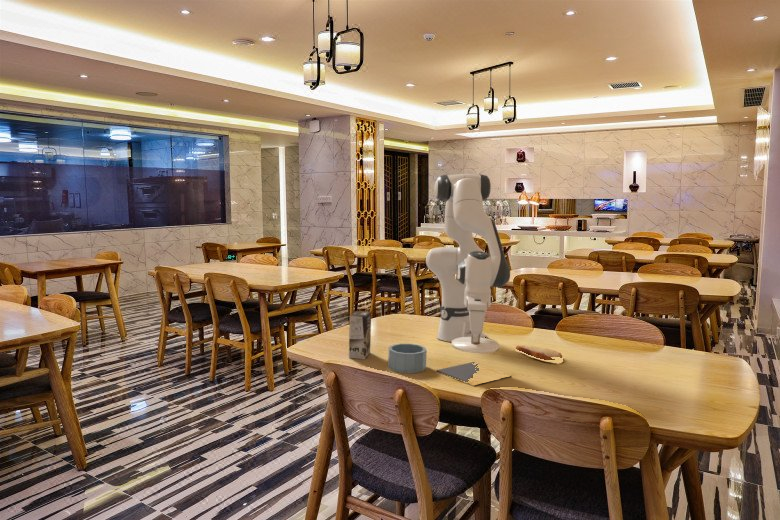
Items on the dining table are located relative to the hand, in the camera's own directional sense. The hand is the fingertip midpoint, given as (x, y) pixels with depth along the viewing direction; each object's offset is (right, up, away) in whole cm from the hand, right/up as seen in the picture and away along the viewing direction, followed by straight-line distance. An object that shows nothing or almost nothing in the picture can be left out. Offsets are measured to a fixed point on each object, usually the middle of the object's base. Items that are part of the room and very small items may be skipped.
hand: (475, 339), depth 189 cm
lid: (0, -2, 0) cm, 2 cm away
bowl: (-23, -11, +6) cm, 26 cm away
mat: (0, -12, +1) cm, 12 cm away
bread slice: (+28, -11, +25) cm, 39 cm away
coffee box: (-40, -9, +20) cm, 46 cm away
